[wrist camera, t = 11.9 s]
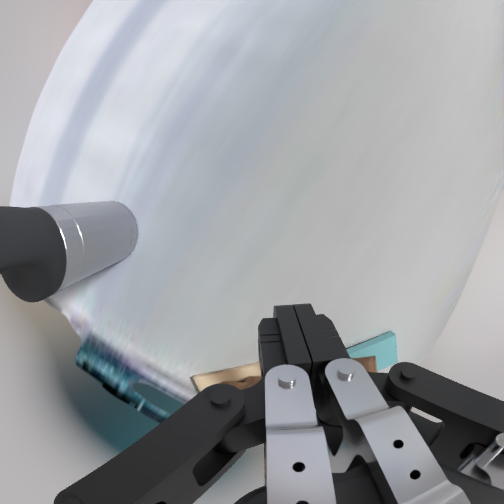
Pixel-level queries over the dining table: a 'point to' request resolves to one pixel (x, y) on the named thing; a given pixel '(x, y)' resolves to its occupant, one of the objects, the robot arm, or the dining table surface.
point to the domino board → (227, 375)
